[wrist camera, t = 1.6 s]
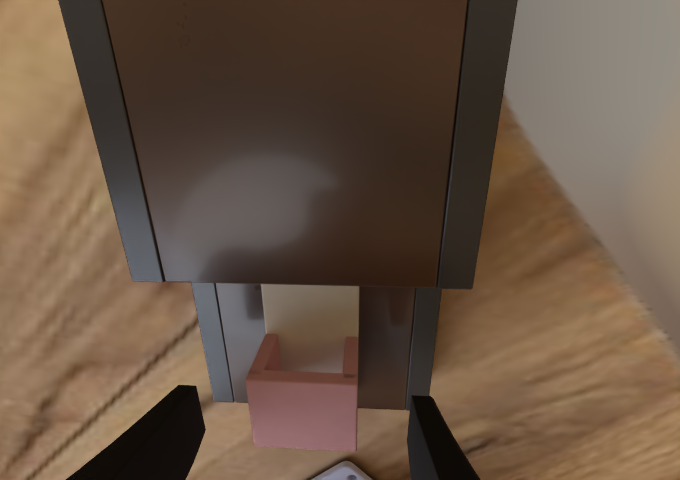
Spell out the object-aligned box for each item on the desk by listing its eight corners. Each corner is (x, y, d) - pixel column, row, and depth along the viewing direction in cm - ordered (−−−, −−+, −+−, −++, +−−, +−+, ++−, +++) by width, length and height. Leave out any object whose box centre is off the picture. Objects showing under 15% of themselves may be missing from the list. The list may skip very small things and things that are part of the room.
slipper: (266, 267, 13) (235, 318, 9) (359, 269, 12) (358, 322, 9) (278, 387, 15) (255, 460, 12) (357, 390, 15) (356, 466, 11)
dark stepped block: (420, 378, 17) (442, 480, 12) (229, 371, 17) (180, 465, 13) (458, 7, 11) (530, -74, 6) (171, 15, 12) (42, -53, 7)
